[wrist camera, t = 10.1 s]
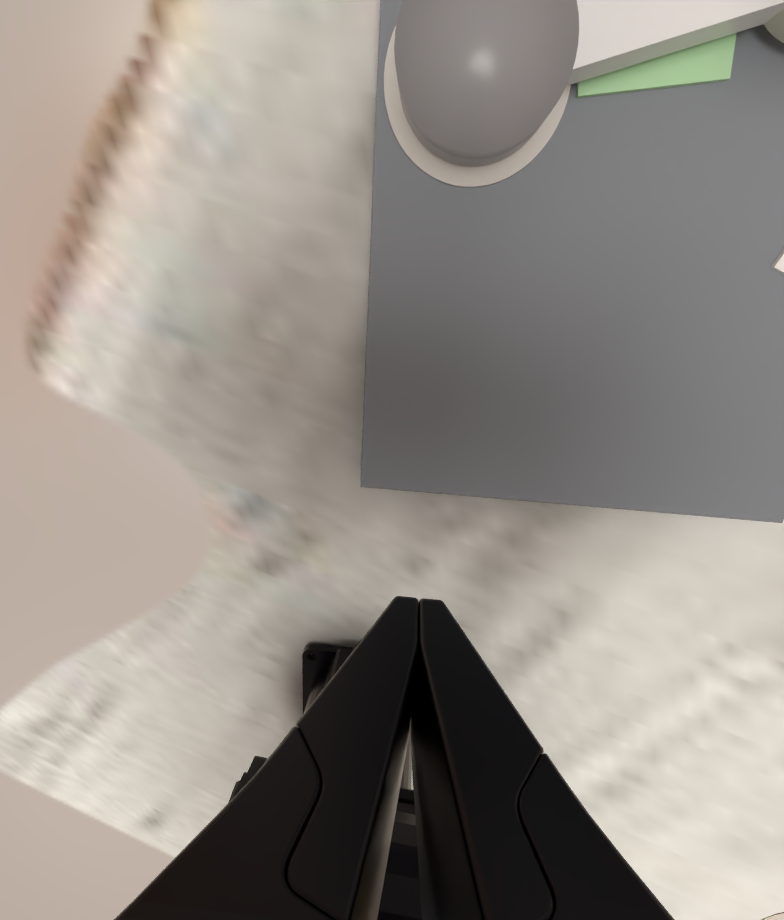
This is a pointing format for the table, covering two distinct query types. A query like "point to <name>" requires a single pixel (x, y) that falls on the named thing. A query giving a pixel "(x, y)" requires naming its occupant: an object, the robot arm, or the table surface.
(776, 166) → the board
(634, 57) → the needle lever
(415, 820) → the robot arm
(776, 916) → the white carton
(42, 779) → the table surface
